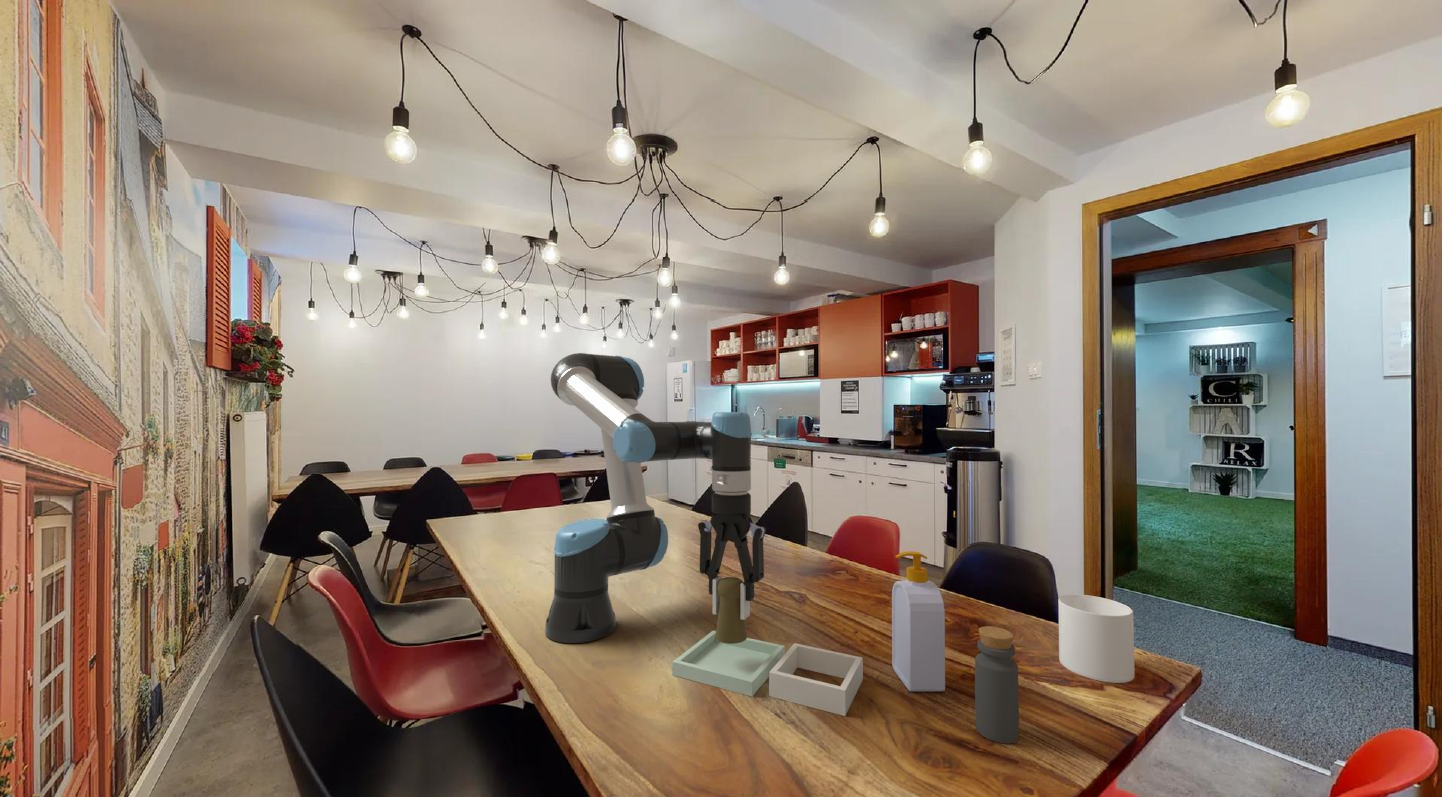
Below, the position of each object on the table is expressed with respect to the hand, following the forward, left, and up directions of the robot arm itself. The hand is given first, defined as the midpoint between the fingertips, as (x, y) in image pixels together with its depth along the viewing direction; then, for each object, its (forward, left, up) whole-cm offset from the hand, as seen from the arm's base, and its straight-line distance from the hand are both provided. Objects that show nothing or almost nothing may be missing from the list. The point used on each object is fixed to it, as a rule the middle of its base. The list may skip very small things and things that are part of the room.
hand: (731, 614), depth 101 cm
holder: (+17, 0, -10) cm, 19 cm away
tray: (0, 0, -10) cm, 10 cm away
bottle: (+45, 0, -10) cm, 46 cm away
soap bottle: (+32, +11, -10) cm, 35 cm away
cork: (0, 0, -4) cm, 4 cm away
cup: (+62, +32, -10) cm, 70 cm away
